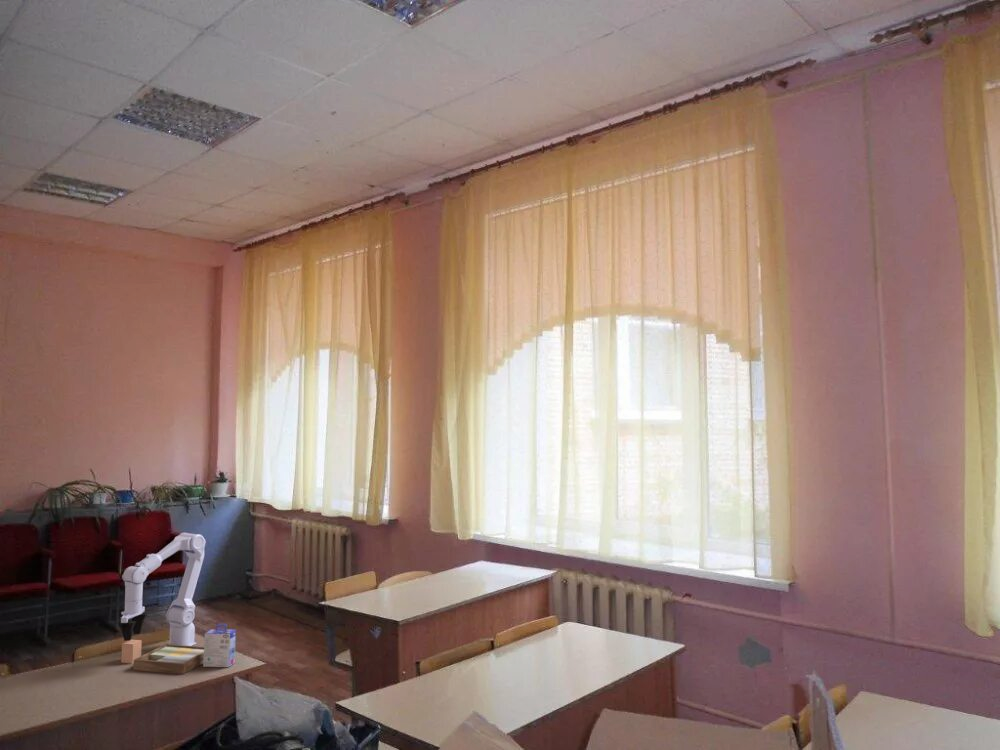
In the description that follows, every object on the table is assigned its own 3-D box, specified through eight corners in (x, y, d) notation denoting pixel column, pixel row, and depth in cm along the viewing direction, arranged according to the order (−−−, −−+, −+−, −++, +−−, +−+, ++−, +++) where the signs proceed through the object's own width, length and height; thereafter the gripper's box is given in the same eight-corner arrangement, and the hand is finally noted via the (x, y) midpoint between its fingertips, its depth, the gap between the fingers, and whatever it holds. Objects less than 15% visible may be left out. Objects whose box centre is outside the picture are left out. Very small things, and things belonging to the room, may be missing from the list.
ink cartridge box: (235, 662, 259) (237, 622, 260) (229, 667, 254) (230, 627, 255) (209, 662, 260) (210, 622, 261) (202, 667, 254) (204, 626, 255)
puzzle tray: (165, 653, 268) (165, 644, 269) (212, 657, 265) (213, 647, 265) (133, 669, 251) (133, 659, 251) (183, 674, 247) (183, 664, 247)
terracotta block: (129, 658, 263) (130, 639, 263) (140, 659, 262) (141, 640, 262) (121, 662, 258) (122, 643, 258) (132, 663, 257) (133, 644, 258)
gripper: (131, 594, 266) (130, 631, 265) (112, 605, 251) (111, 643, 251) (150, 594, 266) (149, 630, 265) (133, 605, 252) (131, 643, 251)
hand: (132, 637), depth 258 cm, fingers open, 7 cm apart
